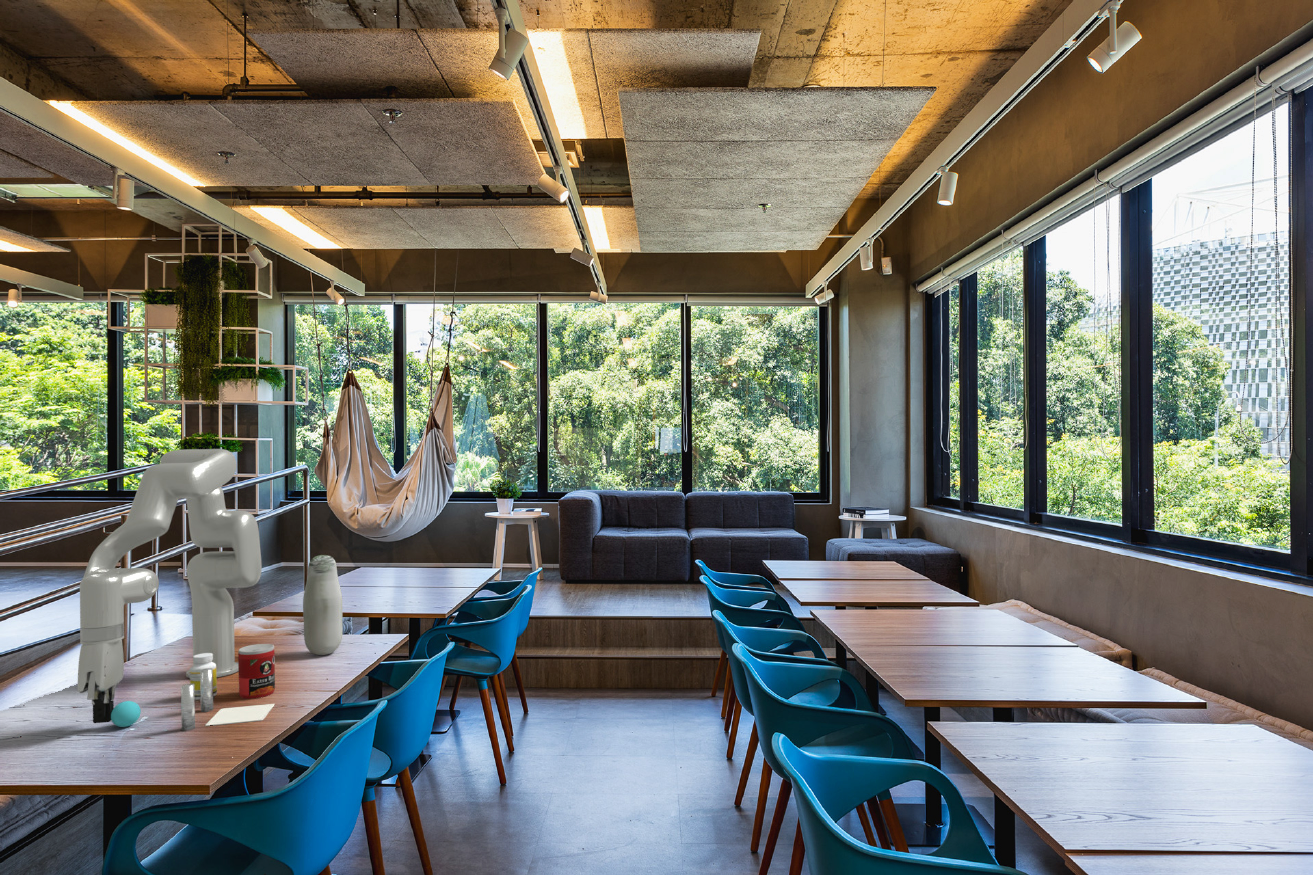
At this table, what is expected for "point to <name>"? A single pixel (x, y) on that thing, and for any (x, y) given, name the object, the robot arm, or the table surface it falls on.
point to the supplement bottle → (199, 663)
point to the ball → (125, 713)
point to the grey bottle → (322, 606)
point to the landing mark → (240, 714)
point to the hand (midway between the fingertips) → (103, 721)
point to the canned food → (256, 671)
